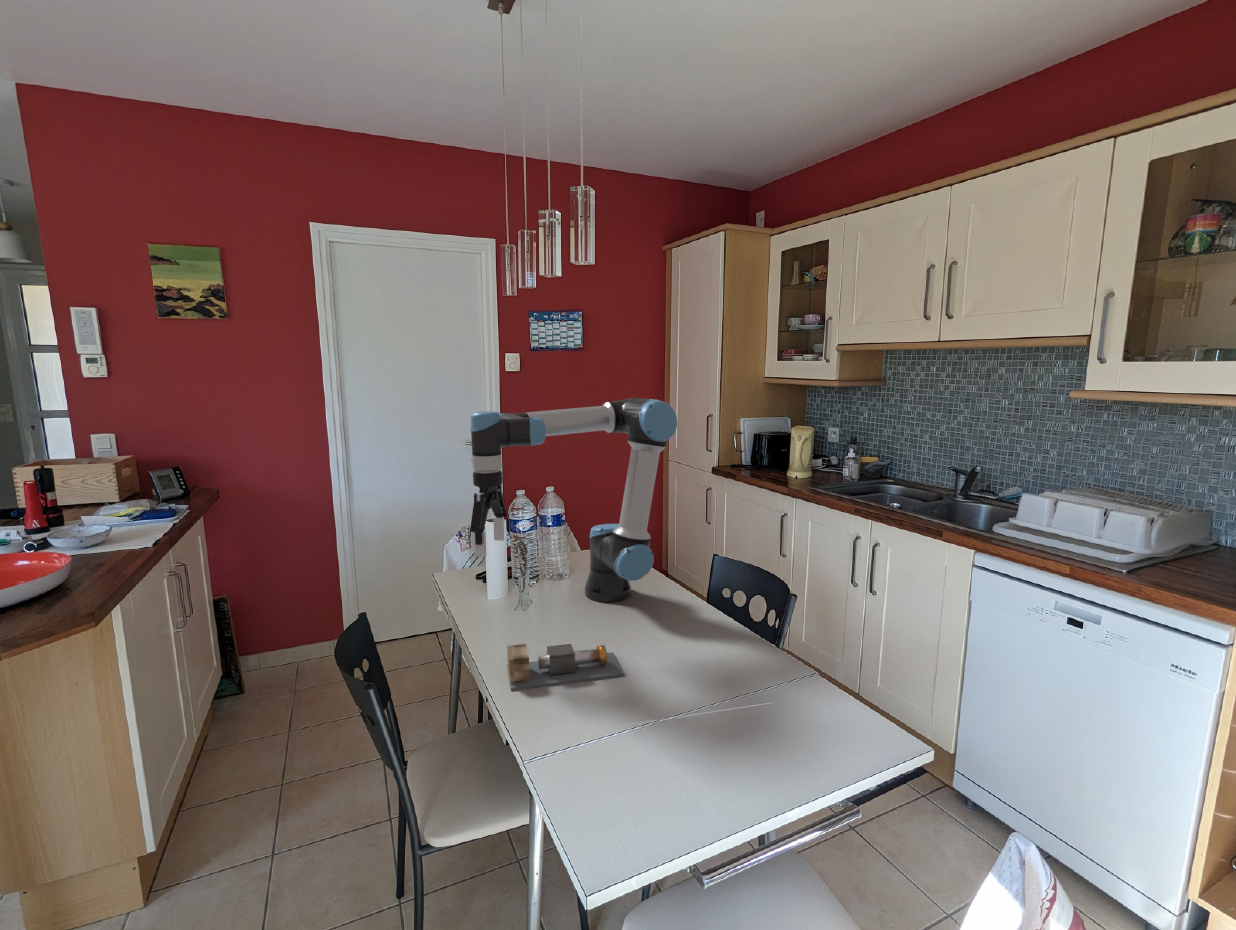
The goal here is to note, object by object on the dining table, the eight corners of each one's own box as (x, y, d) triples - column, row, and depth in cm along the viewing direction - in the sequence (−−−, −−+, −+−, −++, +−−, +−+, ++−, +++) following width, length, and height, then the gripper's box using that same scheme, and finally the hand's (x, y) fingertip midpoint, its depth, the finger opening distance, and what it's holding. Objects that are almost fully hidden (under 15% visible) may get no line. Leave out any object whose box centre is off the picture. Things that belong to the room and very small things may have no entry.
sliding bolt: (602, 658, 148) (602, 641, 147) (607, 667, 144) (607, 650, 143) (537, 666, 144) (537, 649, 143) (539, 676, 140) (539, 658, 139)
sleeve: (571, 662, 146) (571, 643, 145) (575, 673, 141) (574, 653, 141) (547, 665, 145) (546, 646, 144) (550, 676, 140) (549, 656, 139)
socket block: (526, 666, 144) (525, 643, 143) (529, 681, 138) (529, 657, 137) (507, 668, 143) (507, 645, 142) (510, 683, 137) (509, 659, 136)
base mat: (613, 654, 152) (613, 652, 152) (624, 675, 142) (624, 673, 142) (507, 666, 145) (507, 664, 145) (510, 690, 135) (510, 688, 135)
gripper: (490, 462, 167) (493, 533, 171) (453, 479, 143) (457, 562, 147) (516, 462, 166) (518, 534, 170) (483, 480, 142) (486, 563, 146)
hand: (490, 547), depth 158 cm, fingers open, 13 cm apart
